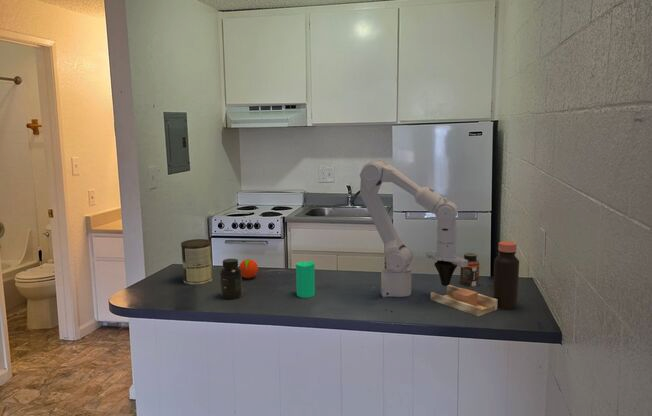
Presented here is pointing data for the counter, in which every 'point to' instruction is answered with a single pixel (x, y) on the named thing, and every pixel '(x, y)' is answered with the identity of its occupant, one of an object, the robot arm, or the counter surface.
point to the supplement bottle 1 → (231, 279)
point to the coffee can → (196, 261)
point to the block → (466, 296)
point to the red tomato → (248, 268)
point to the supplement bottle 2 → (470, 271)
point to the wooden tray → (483, 303)
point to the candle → (305, 279)
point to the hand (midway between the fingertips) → (445, 285)
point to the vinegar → (506, 276)
